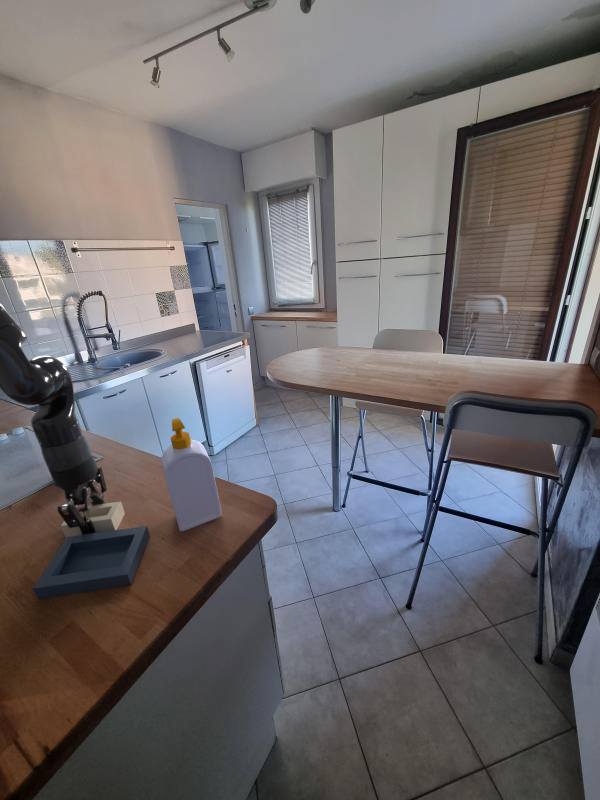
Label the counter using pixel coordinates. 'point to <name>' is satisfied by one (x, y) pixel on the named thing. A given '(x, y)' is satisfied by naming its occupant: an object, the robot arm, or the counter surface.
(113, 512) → the frame
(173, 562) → the counter surface
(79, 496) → the robot arm
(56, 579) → the tray
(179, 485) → the soap bottle
